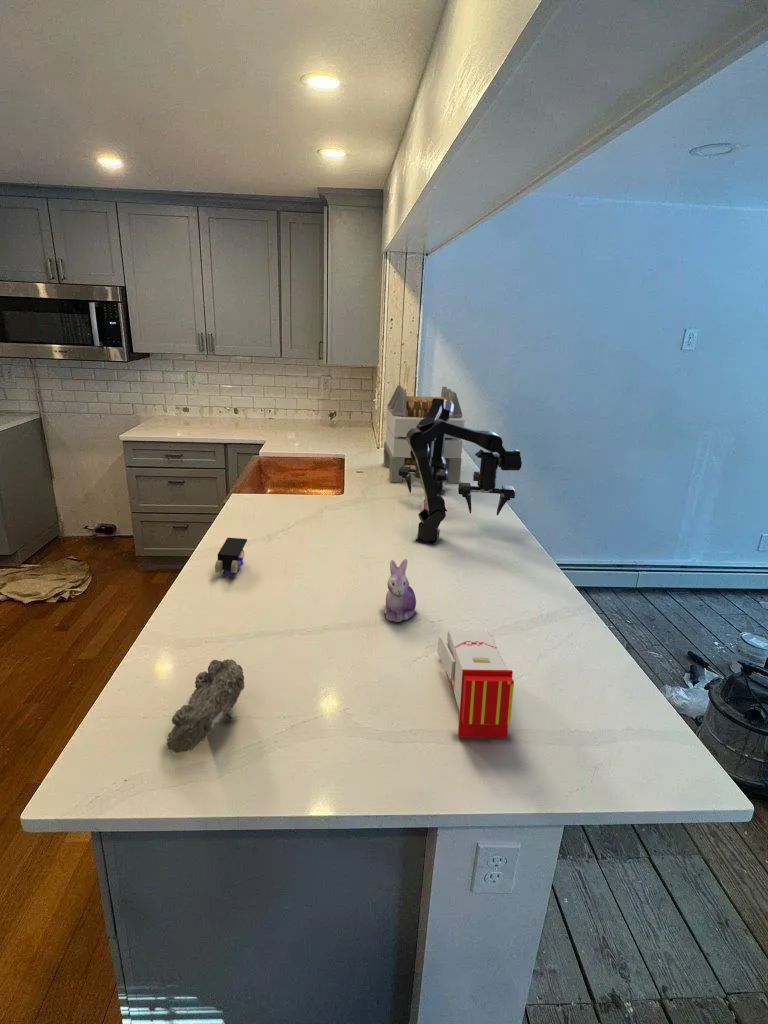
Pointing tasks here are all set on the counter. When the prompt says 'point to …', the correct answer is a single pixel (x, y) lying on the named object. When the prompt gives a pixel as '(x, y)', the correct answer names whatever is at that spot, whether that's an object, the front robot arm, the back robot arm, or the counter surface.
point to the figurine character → (230, 556)
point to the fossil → (206, 705)
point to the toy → (478, 682)
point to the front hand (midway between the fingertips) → (483, 513)
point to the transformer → (407, 416)
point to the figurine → (399, 594)
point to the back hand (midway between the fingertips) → (421, 493)
